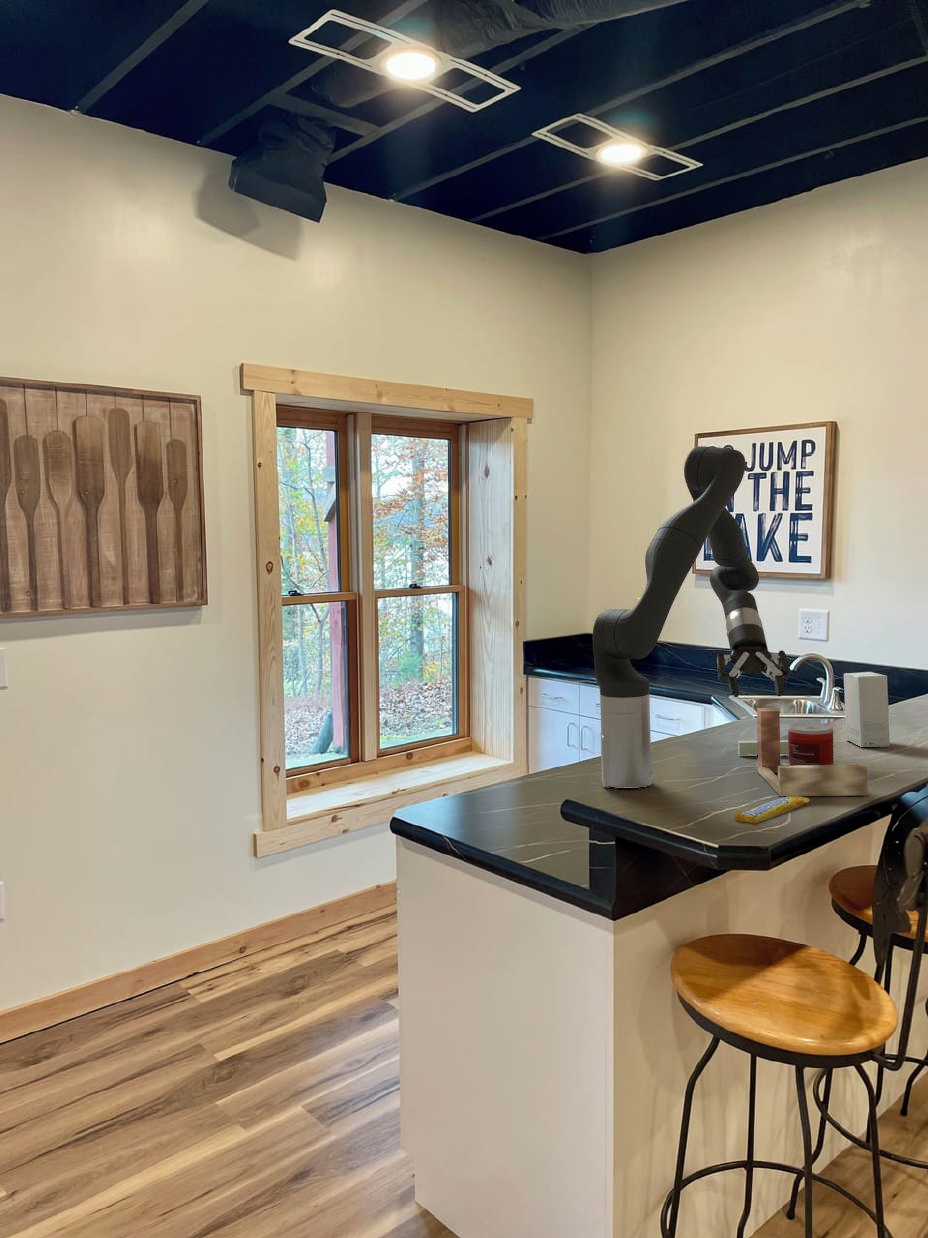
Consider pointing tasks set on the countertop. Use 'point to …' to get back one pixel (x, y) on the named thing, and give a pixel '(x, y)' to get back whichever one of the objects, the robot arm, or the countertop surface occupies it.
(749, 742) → the stop rail
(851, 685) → the skincare box
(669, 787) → the countertop surface
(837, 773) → the shallow wooden tray
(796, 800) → the candy bar
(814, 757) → the canned food
